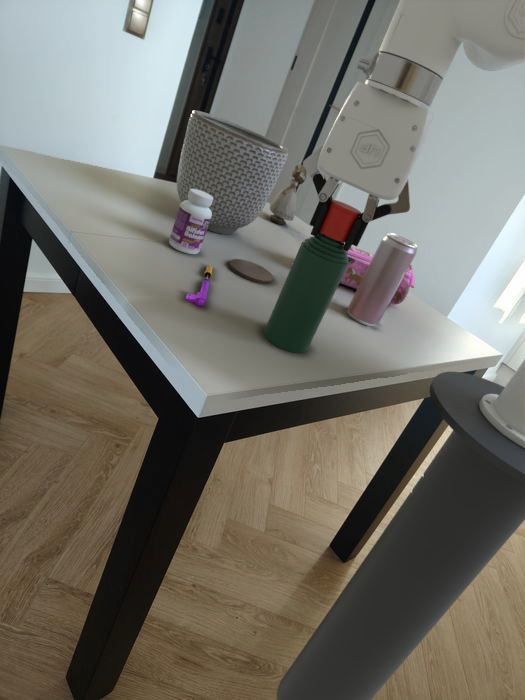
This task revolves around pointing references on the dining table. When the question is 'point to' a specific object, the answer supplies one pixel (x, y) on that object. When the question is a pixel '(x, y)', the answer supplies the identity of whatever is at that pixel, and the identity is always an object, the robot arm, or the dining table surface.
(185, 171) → the planter
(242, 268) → the coaster
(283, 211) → the figurine
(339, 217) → the cap
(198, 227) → the pill bottle
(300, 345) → the bottle
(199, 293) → the purple tool
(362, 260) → the pencil case
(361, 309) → the beverage can
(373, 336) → the dining table surface
